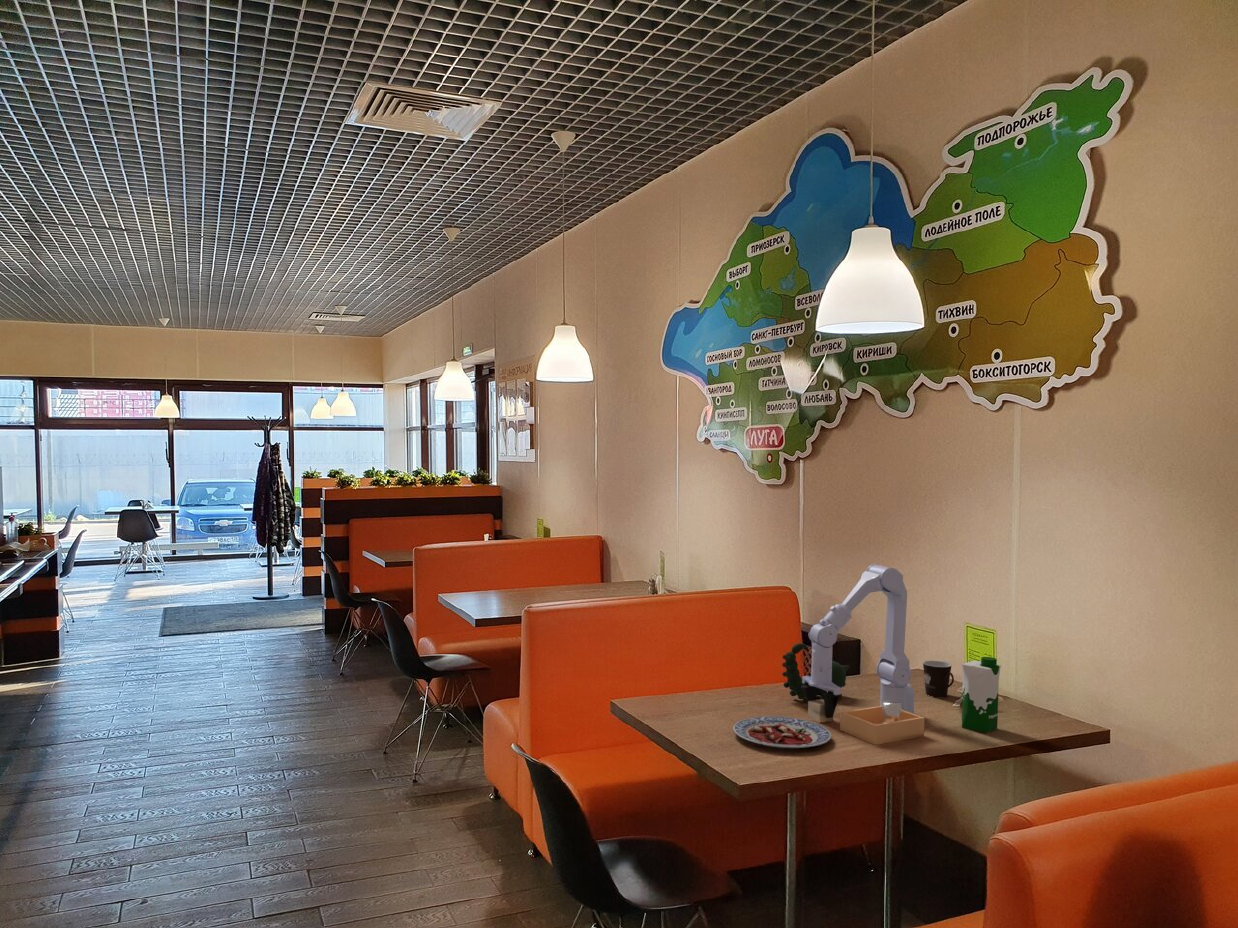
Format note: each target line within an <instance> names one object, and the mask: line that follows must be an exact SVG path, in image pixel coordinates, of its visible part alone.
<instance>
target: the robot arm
mask: <svg viewBox="0 0 1238 928" xmlns="http://www.w3.org/2000/svg"><path fill="white" fill-rule="evenodd" d="M876 592H882V593H883V595H884V596H886V597H887V601H886V617H885V618H886V620H885V640H884V641H885V642H884V650H883V651H882V652H881V653H880V655H879V660H878V662H877V664H876V671H875V672H876V674H877V676H878V677H879V681H880V693H879V695H880V699H879V700H880V702H879V703H880V704H879V706H882V703H883V701H887V700H892V701H898V702H900V703H901V710H904V711H907V712H910V713H912V714H915V715H917V714H916V712H915V690H914V688H913V686H912V685H911V680H912V677H913V676H912V675H913V674H912V673H913V672H912V670H911V668H910V660H909V658H908V657H907V655H906V654H905V653H906V652H905V643H906V642H905V641H906V625H907V609H908V608H907V607H908V590H907V587H906V585H905V582H904V574H902V573H901V572H900V571H899V570H898V569H897V568H894V567H889V566H884V565H880V564H878V563H874V564H870V565H869V566H868V567H867V568H866V570H865V571H863V572H862V574H861V577H860V579H859V580H858V582H857V583H856V584H855V586H854V587H853V589H852V590H851V591H850V592H849V593H848V595H847V597H846V598H845V599H844V600H843V602H842V603H836V604H835V605H831V606H830V608H829V611H828V612H827V614H826V615H825V616H824V617H823V618H822V619H820V620H819V623H816V624H814V625H813V626H811V628H810V630H809V632H808V633H807V634H808V635H807V636H808V638H809V640H810V642H811V667H810V668H811V669H810V671H811V674H810V675H811V677H810V675H805V676H804V675H803V676H801V678H802V683H804V685H803V686H801V689H802V691H803V693H804V695H805V698H804V699H805V702H806V706H807V708H808V701H813V700H818V695H817V694H818V691H819V688H820V689H823V690H825V691H827V692H828V693H822V696H823V698H822V699H823V700H824V703H825V715H826V718H832V717H833V718H834V714H835V711H836V708H837V705H838V704H839V701H840V700H841V698H842V697H843V694H842V688H841V687H838V686H837V685H835V684H834V683H832V661H833V645H834V644H835V643H836V642H837V640H838V634H839V633H840V631H842V629H843V628H844V627H845V626H846V624H847V623H848V622H849V621H850V620H851V618H852V611H853V610H855V609H856V607H858V606H859V605H860V603H861V602H863V600H864V599H866V597H867V596H868V595H870V593H876Z"/></svg>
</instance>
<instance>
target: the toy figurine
mask: <svg viewBox="0 0 1238 928" xmlns="http://www.w3.org/2000/svg"><path fill="white" fill-rule="evenodd" d="M802 650H805V651H808V650H809V648H808V647H807V645H806V644H805V643H801V642H799V643H795V644H794V645H793V646H792V647H791V651H787V652H786V653H785V654H783V655H782V659H783V660H785V662H782V667H783V668H785V669H786V670H785V671H783V672H782V676H783V677H785V678H786V679H787V680H786V681H785V682H783V687H784V688H786V689H787V688H788V689H789V690H790V691H789V694H790V695H789V696H791V697H795V696H797V698H798V700H804V699H806V698H805V695H804V693H803V691H802V689H801V686H803V685H804V683H802V676H801V674H800V670H799V668H798V667H799V664H798V662H797V656H796V655H797V654H799V653H800V652H801V651H802ZM850 667H851V666H850V665H846V664H845V665H841V664H840V663H839V662H837V661H835V660H832V683H834V684H835V685H837V686H838V687H841V689H842V688H844V687H845V686H846V680H847V673H846V672H847V671H848V669H850ZM809 676H810V677H811V674H810V675H809ZM822 693H828V691H825V690H823V689H820V688H819V691H818V694H817V696H820V699H823V696H822Z"/></svg>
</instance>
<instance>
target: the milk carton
mask: <svg viewBox="0 0 1238 928" xmlns="http://www.w3.org/2000/svg"><path fill="white" fill-rule="evenodd" d="M980 659H981V660H980V661H979V660H971V661H968V662H965V663H964V662H963V664H961V666H962V694H961V695H962V697H961V699H962V700H961V728H963V729H966V730H972V731H974V732H975V731H976V732H979V733H984V734H988V733H990V732H993V731H995V730H997V729H998V721H999V720H998V718H999V717H998V716H999V714H998V713H999V684H1000V683H999V682H1000V681H999V680H1000V674H1001V665H1000V664H999V663H998V664H997V661H998V660H997V658H996V657H993V656H982V657H981V658H980Z"/></svg>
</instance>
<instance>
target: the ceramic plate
mask: <svg viewBox="0 0 1238 928" xmlns="http://www.w3.org/2000/svg"><path fill="white" fill-rule="evenodd" d="M732 730H733V732H734V734H735V735H736V736H738V737H739V738H741V739H743V740H744V741H745V740H746V741H748V742H751V743H755V744H758V745H761V744H762V746H765V747H769V748H775V749H787V750H788V749H793V750H794V749H802V748H804V749H805V748H810V747H816V746H821V745H823V744H826V743H828V742H829V741H831V738H832V733H831V731H830V730H828V729H827V728H826V727H824V726H822V725H820V724H817V723H815V722H812V721H808V720H804V719H799V718H792V717H784V716H757V717H749V718H745V719H742V720H739V721H737V722H735V724H733V727H732Z"/></svg>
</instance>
